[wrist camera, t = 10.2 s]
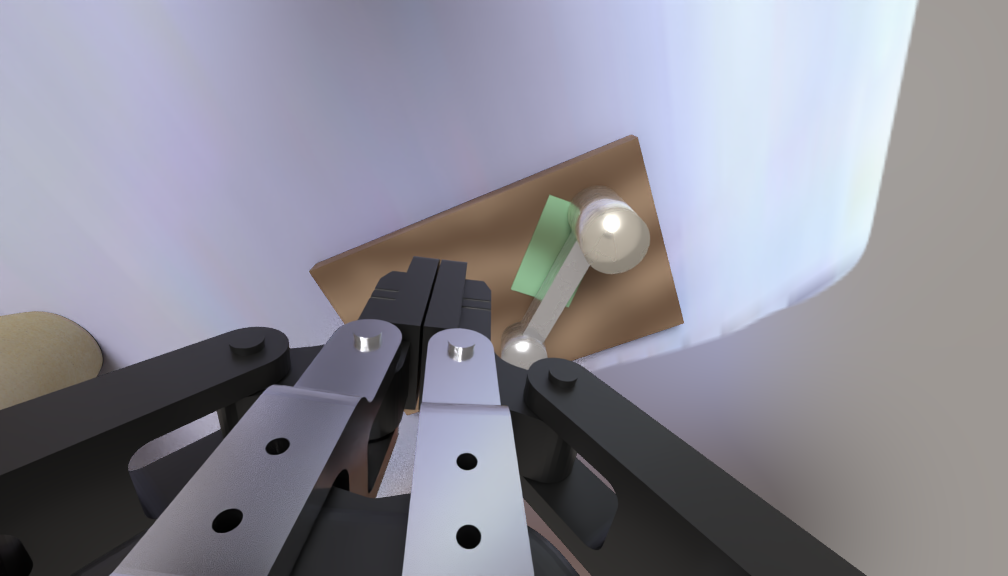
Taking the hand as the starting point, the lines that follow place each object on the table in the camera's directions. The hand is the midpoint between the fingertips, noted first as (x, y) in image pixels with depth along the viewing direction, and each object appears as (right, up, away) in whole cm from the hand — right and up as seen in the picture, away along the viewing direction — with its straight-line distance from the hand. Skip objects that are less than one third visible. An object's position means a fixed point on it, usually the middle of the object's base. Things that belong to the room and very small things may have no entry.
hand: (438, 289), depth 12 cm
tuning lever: (+6, +1, +21) cm, 22 cm away
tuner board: (+2, 0, +24) cm, 24 cm away
